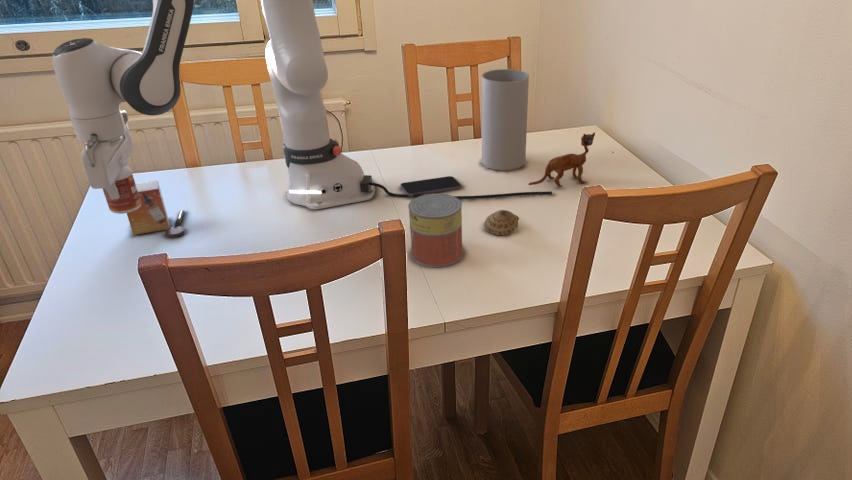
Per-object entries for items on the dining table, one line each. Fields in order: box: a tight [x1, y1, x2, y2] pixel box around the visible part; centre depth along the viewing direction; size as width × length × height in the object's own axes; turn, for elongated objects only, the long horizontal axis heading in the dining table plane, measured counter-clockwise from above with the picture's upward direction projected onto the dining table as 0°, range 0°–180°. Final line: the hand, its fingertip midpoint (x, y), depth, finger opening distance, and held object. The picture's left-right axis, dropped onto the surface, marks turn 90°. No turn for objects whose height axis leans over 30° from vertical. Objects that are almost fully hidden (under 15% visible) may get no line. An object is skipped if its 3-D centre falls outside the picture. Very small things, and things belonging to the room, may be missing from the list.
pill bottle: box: [101, 156, 141, 215], centre depth 134 cm, size 6×6×11 cm
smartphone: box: [400, 175, 462, 196], centre depth 171 cm, size 7×1×15 cm
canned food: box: [407, 192, 464, 268], centre depth 139 cm, size 11×11×12 cm
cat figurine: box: [527, 131, 596, 188], centre depth 170 cm, size 18×7×14 cm, turn 109°
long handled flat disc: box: [164, 209, 185, 239], centre depth 154 cm, size 13×4×1 cm, turn 13°
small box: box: [126, 179, 171, 236], centre depth 150 cm, size 8×6×10 cm
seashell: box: [483, 209, 520, 236], centre depth 152 cm, size 8×6×8 cm
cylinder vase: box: [481, 68, 530, 172], centre depth 179 cm, size 12×12×25 cm
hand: (120, 190), depth 135 cm, fingers closed on pill bottle, 6 cm apart
